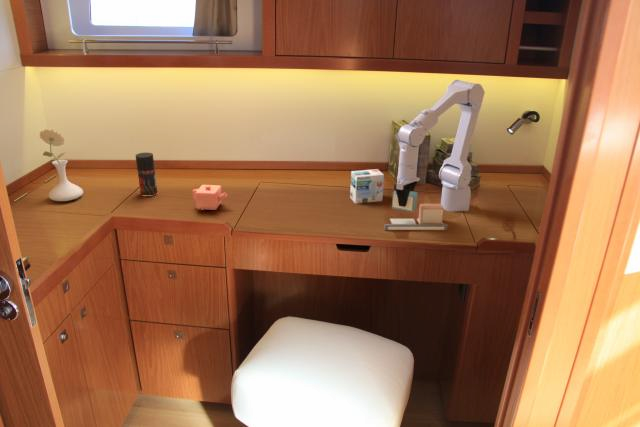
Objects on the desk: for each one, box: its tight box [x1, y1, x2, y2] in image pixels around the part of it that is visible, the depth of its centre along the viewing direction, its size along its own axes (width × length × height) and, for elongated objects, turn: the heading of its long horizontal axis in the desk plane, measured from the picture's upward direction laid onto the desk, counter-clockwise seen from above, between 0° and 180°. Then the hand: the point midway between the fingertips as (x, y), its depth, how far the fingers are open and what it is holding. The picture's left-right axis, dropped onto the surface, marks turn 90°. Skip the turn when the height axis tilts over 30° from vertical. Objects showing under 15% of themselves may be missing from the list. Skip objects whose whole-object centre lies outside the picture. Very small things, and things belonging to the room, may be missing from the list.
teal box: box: [391, 190, 419, 213], centre depth 167 cm, size 7×4×6 cm, turn 64°
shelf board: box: [383, 218, 449, 231], centre depth 172 cm, size 20×17×2 cm
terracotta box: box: [417, 203, 445, 224], centre depth 169 cm, size 7×4×6 cm, turn 92°
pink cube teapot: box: [191, 184, 228, 211], centre depth 179 cm, size 8×12×8 cm, turn 85°
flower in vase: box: [39, 129, 84, 202], centre depth 182 cm, size 13×11×25 cm
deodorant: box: [135, 152, 158, 196], centre depth 188 cm, size 6×6×15 cm
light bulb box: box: [349, 168, 385, 205], centre depth 186 cm, size 11×7×11 cm, turn 105°
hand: (404, 203), depth 167 cm, fingers closed on teal box, 4 cm apart
